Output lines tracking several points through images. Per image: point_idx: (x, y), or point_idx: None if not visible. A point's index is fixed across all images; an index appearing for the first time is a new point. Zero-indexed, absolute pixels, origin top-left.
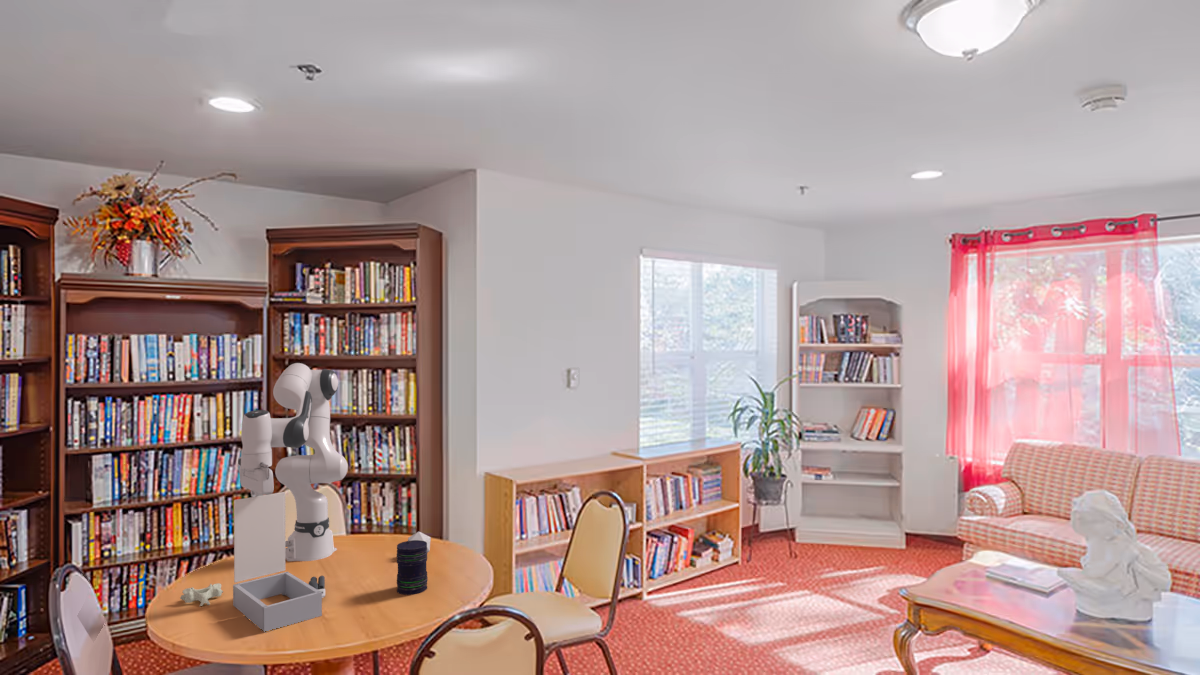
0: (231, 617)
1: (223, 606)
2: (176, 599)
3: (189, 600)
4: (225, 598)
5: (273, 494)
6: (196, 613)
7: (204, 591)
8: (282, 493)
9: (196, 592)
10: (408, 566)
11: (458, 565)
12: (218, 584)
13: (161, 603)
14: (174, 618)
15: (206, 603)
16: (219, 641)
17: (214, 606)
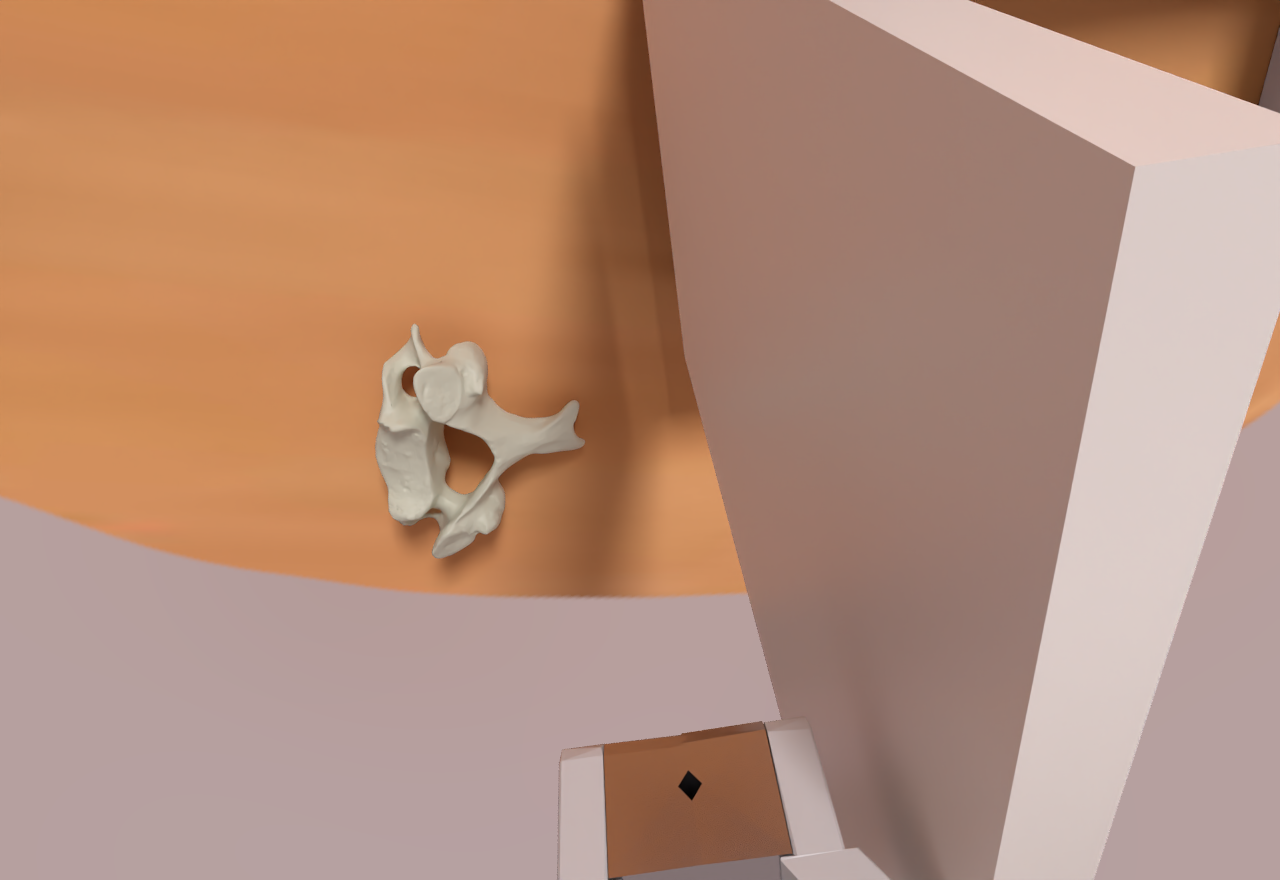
0: None
1: (625, 330)
2: (327, 523)
3: (504, 501)
4: (472, 303)
5: (1137, 716)
6: (645, 456)
7: (432, 442)
8: (1240, 318)
9: (485, 494)
10: None
11: None
12: (424, 385)
13: (358, 579)
14: (646, 539)
15: (574, 421)
16: None
17: (589, 372)
